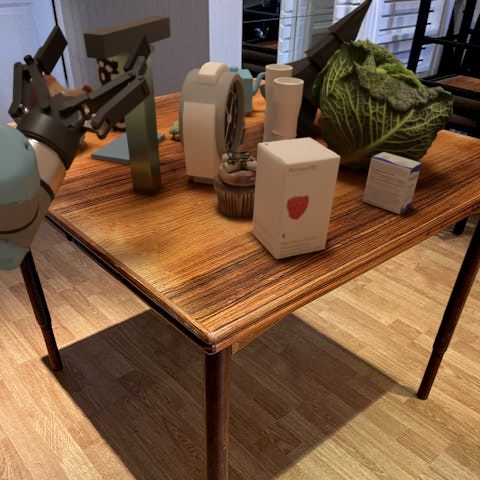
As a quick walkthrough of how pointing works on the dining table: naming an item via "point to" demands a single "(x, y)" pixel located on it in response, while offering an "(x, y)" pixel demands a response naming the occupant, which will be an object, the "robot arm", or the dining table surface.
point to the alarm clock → (210, 118)
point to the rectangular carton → (293, 195)
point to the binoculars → (281, 103)
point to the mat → (117, 150)
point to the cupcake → (236, 184)
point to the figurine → (60, 90)
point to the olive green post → (143, 136)
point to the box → (391, 182)
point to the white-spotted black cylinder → (106, 74)
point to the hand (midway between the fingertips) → (102, 38)
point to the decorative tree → (322, 62)
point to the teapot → (248, 85)
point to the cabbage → (376, 106)
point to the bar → (125, 36)
